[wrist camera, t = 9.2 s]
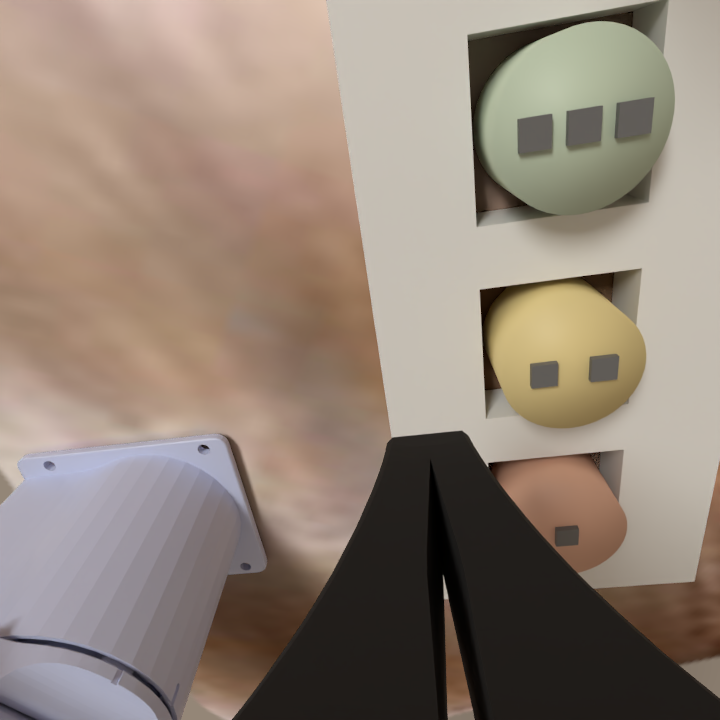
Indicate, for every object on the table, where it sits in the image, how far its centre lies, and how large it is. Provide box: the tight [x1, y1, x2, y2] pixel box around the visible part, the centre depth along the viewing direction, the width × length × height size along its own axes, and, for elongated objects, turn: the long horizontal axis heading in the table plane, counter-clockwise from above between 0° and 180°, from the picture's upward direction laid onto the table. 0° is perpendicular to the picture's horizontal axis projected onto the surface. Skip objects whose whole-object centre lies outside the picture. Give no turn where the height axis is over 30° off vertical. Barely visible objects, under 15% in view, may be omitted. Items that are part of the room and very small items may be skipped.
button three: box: [473, 21, 675, 215], centre depth 14 cm, size 4×4×3 cm
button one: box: [491, 453, 627, 573], centre depth 20 cm, size 4×4×3 cm
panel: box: [326, 0, 720, 599], centre depth 18 cm, size 12×24×2 cm, turn 9°
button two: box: [483, 277, 646, 428], centre depth 17 cm, size 4×4×3 cm
